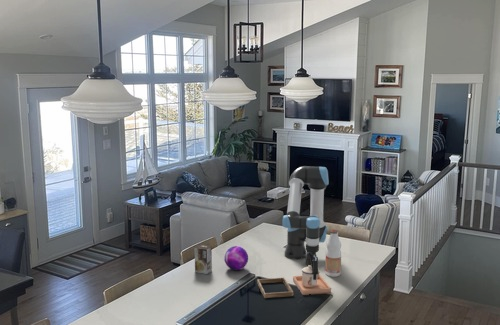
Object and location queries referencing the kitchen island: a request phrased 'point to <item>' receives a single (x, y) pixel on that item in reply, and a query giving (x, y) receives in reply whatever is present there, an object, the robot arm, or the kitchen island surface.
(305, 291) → the terracotta dish
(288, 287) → the walnut corral
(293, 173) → the robot arm
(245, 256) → the decorative orb
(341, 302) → the kitchen island surface
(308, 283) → the teacup with lid
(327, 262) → the fruit juice
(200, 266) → the coffee box
